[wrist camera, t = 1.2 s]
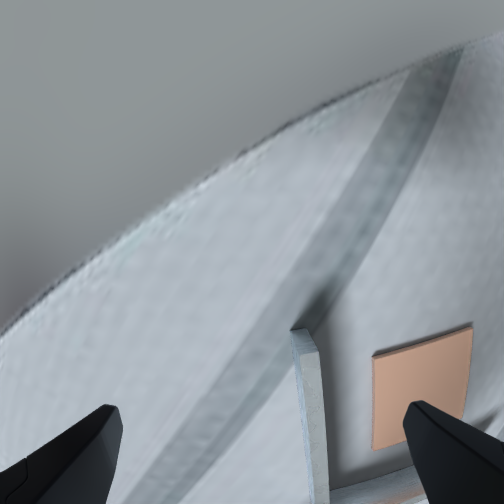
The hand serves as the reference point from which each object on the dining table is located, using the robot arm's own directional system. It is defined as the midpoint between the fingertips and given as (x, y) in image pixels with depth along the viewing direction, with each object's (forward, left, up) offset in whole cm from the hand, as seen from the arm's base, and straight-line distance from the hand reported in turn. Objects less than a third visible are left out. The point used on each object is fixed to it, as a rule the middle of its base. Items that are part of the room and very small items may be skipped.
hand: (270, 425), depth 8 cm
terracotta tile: (-11, -13, -14) cm, 23 cm away
